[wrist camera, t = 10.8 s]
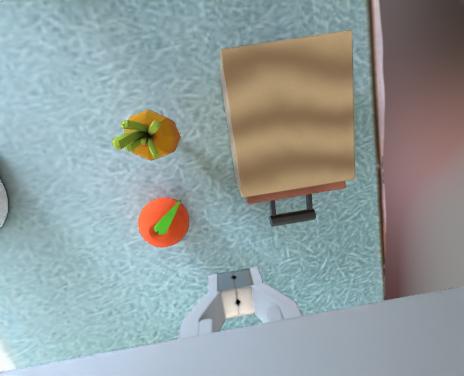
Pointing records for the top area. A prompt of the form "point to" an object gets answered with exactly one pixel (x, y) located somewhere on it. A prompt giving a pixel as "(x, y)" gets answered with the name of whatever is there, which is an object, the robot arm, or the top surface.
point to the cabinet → (290, 112)
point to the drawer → (308, 191)
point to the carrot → (148, 135)
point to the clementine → (163, 222)
